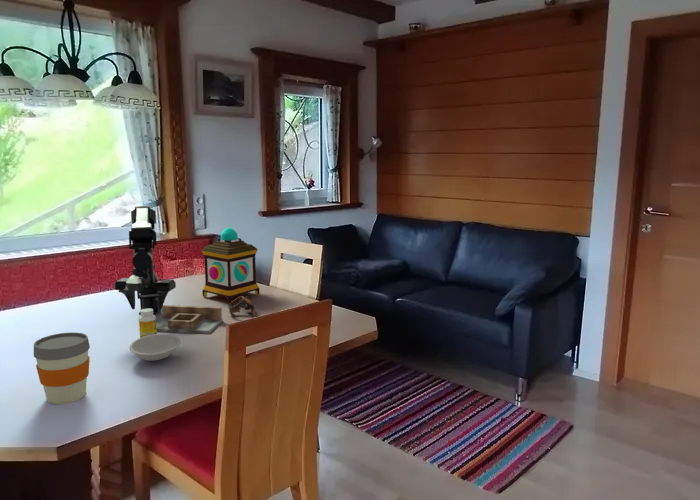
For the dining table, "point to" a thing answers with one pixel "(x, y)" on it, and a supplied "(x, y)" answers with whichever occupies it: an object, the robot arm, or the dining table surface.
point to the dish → (155, 346)
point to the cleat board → (189, 319)
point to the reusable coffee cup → (63, 366)
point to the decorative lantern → (230, 266)
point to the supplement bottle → (147, 323)
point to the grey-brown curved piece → (241, 305)
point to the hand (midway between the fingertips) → (146, 309)
